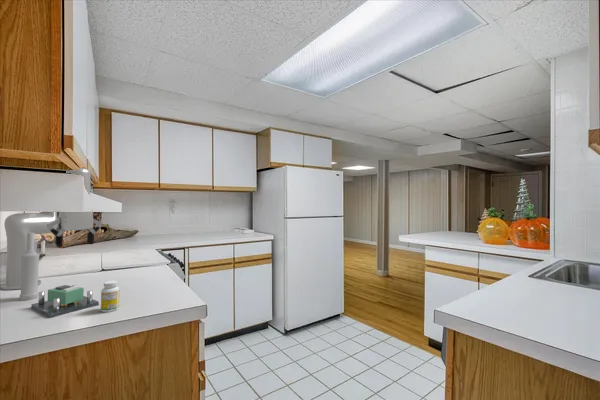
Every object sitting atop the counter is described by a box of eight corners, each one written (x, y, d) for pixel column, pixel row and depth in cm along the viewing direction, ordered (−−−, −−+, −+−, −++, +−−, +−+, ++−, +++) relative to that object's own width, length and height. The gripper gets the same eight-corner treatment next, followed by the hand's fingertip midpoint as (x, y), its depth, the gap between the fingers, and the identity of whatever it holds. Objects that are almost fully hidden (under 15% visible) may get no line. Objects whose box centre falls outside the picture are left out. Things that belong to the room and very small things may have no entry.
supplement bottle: (112, 312, 97) (113, 284, 97) (96, 312, 97) (97, 284, 97) (122, 306, 103) (123, 280, 103) (107, 306, 103) (108, 279, 103)
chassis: (31, 307, 100) (31, 292, 100) (78, 296, 112) (78, 283, 112) (50, 317, 92) (50, 301, 92) (98, 304, 104) (99, 290, 104)
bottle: (40, 297, 110) (42, 232, 111) (22, 301, 106) (24, 234, 106) (35, 295, 113) (36, 232, 113) (17, 299, 109) (19, 233, 109)
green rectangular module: (47, 301, 101) (47, 288, 101) (65, 296, 107) (66, 283, 107) (65, 304, 98) (65, 290, 98) (83, 298, 104) (83, 286, 104)
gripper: (98, 200, 118) (96, 241, 118) (44, 199, 104) (42, 246, 104) (107, 201, 114) (105, 243, 114) (52, 200, 100) (50, 249, 100)
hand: (75, 245), depth 109 cm, fingers open, 9 cm apart
